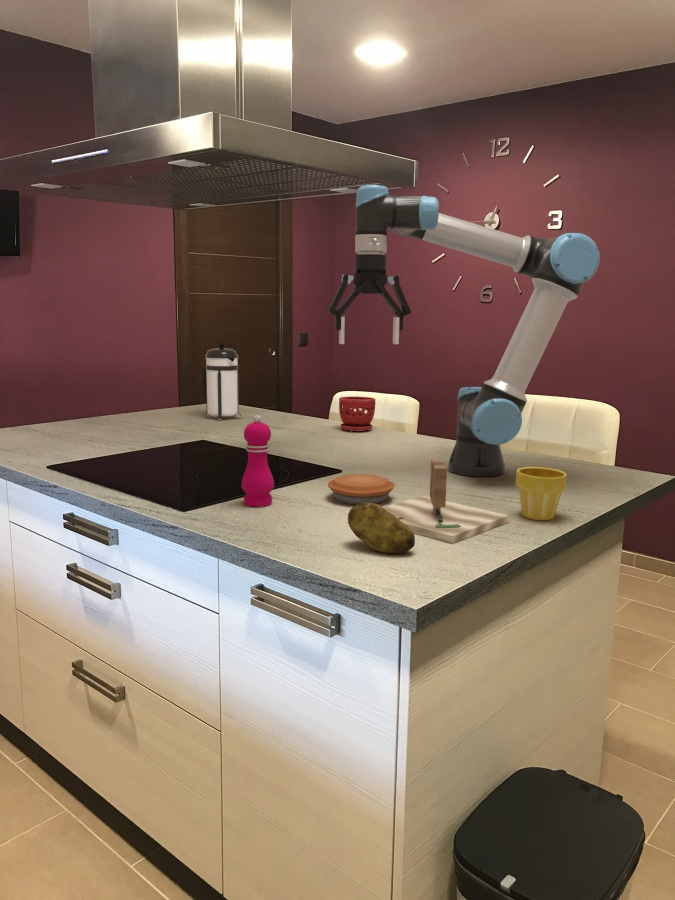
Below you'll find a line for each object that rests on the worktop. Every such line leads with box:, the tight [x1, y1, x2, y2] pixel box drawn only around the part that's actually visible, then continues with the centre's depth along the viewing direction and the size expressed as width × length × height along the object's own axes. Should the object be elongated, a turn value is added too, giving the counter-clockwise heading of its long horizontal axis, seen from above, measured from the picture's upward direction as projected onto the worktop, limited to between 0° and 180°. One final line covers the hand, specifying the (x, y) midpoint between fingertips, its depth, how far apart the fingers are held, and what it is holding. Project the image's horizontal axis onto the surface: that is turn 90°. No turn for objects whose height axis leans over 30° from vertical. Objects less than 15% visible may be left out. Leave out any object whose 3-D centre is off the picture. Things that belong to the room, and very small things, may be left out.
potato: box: [347, 502, 416, 554], centre depth 132 cm, size 8×13×8 cm, turn 37°
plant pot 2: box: [515, 466, 568, 521], centre depth 154 cm, size 10×10×10 cm
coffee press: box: [202, 341, 243, 420], centre depth 284 cm, size 17×16×30 cm
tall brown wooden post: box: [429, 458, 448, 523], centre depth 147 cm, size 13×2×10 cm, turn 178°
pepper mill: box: [241, 414, 275, 508], centre depth 160 cm, size 7×7×20 cm
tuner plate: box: [383, 495, 510, 545], centre depth 150 cm, size 20×22×2 cm
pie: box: [327, 473, 396, 506], centre depth 167 cm, size 15×16×5 cm
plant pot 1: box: [338, 396, 376, 432], centre depth 262 cm, size 13×13×12 cm
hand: (368, 344), depth 177 cm, fingers open, 13 cm apart
